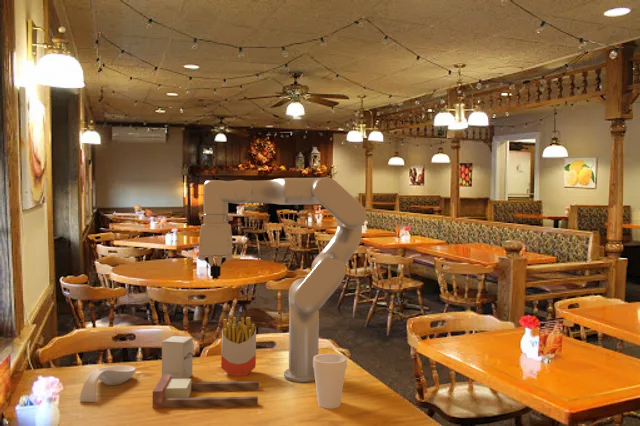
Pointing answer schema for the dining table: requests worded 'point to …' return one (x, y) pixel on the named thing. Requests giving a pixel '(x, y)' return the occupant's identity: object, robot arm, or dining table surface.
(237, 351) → the french fries container
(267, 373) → the dining table surface
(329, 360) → the foam cup
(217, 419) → the dining table surface
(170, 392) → the block
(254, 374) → the dining table surface
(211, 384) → the guide track
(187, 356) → the supplement box
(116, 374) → the spoon rest
